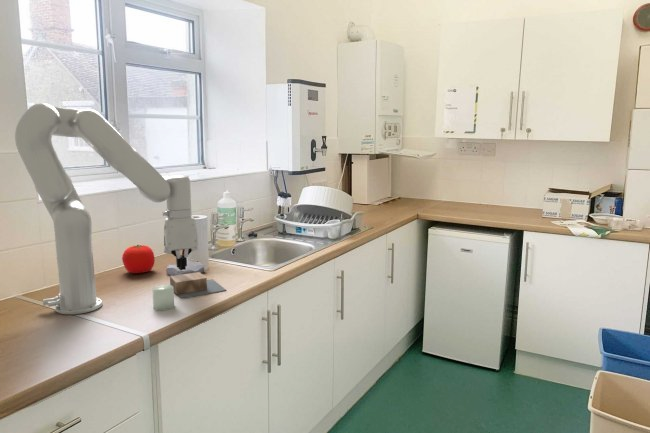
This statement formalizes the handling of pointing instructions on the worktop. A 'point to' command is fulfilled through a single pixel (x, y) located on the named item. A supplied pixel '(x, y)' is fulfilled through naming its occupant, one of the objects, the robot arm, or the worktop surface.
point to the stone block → (190, 268)
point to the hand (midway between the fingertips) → (181, 268)
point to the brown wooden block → (188, 282)
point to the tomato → (138, 259)
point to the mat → (211, 288)
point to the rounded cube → (163, 297)
